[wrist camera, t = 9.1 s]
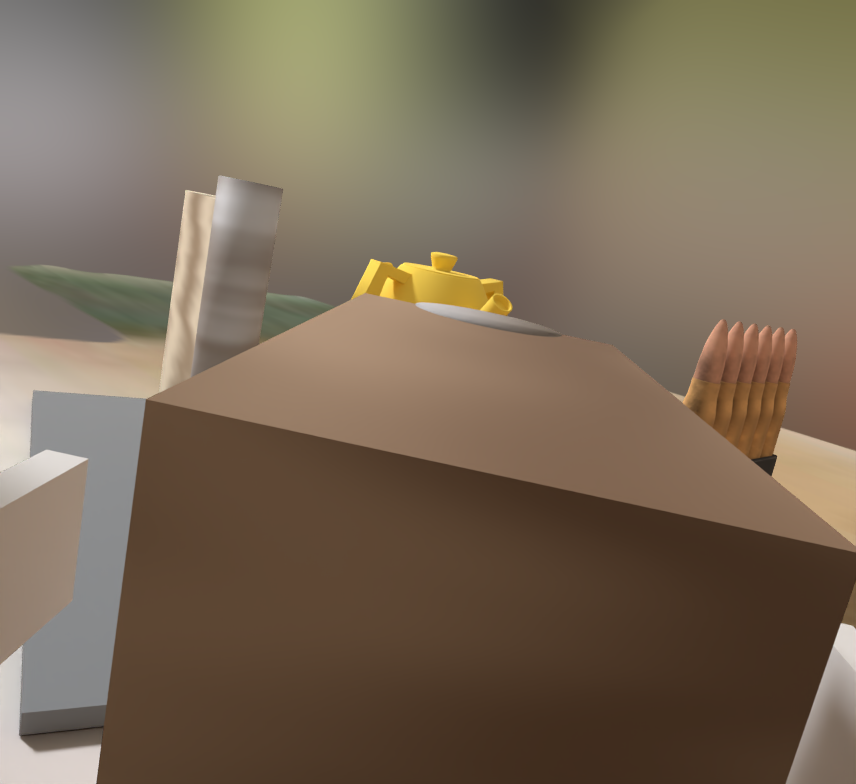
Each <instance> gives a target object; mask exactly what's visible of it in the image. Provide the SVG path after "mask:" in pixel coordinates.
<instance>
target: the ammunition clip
mask: <svg viewBox="0 0 856 784" xmlns="http://www.w3.org/2000/svg"><path fill="white" fill-rule="evenodd" d="M796 351H797V335H796V331H795V330H794V329H791V330H790V331H789V332H788V333H787V334H786V336H785V334H784V329H783V328H782V327H780V328H778V329H777V330H776V331H775V333H774V334H773V335H772V331H771V327H770V326H766V327H765V328H764V329H763V330H762V331H761V333H760V334H758V327H757V324H752V325H751V326H750V327H749V328H748V330H747V331H746V332H745V334H744V330H743V324H742V323H741V322H737V323H736V324H735V325H734V326H733V328H732V329H731V330H730V332H729V333H728V328H727V323H726V320H724V319H722V320H721V321H720V322H719V323H718V324H717V325H716V326H715V328H714V329H713V331H712V333H711V334H710V336H709V338H708V340H707V342H706V344H705V346H704V348H703V350H702V353H701V355H700V358H699V361H698V364H697V367H696V370H695V374H694V377H693V378H692V381H691V384H690V387H689V390H688V393H687V395H686V397H685V399H684V401H683V404H684V405H685V406H687V407H688V408H689V409H690V410H691V411H693V412H694V413H695V414H696V415H698V416H699V417H700V418H701V419H702V420H704V421H705V422H706V423H707V424H708V425H710V426H711V427H712V428H713V429H714V430H716V431H717V432H718V433H719V434H720V435H722V436H723V437H724V438H725V439H726V440H728V441H729V442H730V443H731V444H732V445H734V446H735V447H736V448H737V449H739V450H740V451H741V452H742V453H743V454H745V455H746V456H747V457H748V458H749V459H751V460H752V461H753V462H754V463H755V464H757V465H758V466H759V467H760V468H761V469H763V470H764V471H765V472H766V473H767V474H769V475H770V476H772V473H773V469H774V466H775V462H776V459H777V456H776V455H774V454H773V451H774V448H775V445H776V441H777V438H778V435H779V431H780V428H781V425H782V421H783V418H784V415H785V410H786V399H787V394H788V390H789V386H790V380H791V377H792V373H793V370H794V365H795V359H796Z"/></svg>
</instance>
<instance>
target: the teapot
mask: <svg viewBox="0 0 856 784" xmlns="http://www.w3.org/2000/svg"><path fill="white" fill-rule="evenodd" d="M431 259H432V267H431V266H424V265H419V264H413V263H403V264H401V265H400V266H399V267H398V268H395V267H393V265H392V264H391V263H388V262H387V263H383V262H380V261H376V260H373V259H371V261H370V263H369V265H368V267H367V269H366V271H365V273H364V275H363V277H362V279H361V281H360V283H359V285H358V287H357V289H356V291H355V293H354V295H353V297H352V299H354V298H356V297H358V296H360V295H362V294H364V293H367V294H372V295H376V296H381V297H386V298H391V299H396V300H400V301H405V302H410V303H415V304H416V303H421V302H425V303H438V304H446V305H453V306H459V307H465V308H471V309H476V310H481V311H486V312H491V313H495V314H500V315H504V316H507V315H508V314H509V313H510V311H511V310H512V304H511V303H510V301H509V300H508V299H507V298H506V297H505V296H503V281H499V280H495V279H482V280H479V278H477V277H474V276H471V275H467V274H463V273H459V272H454V271H451V270H452V268H453V266H454V265H455V263H456V261H457V257H455V256H452V255H449V254H444V253H439V252H432V253H431ZM352 299H351V300H352Z"/></svg>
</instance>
